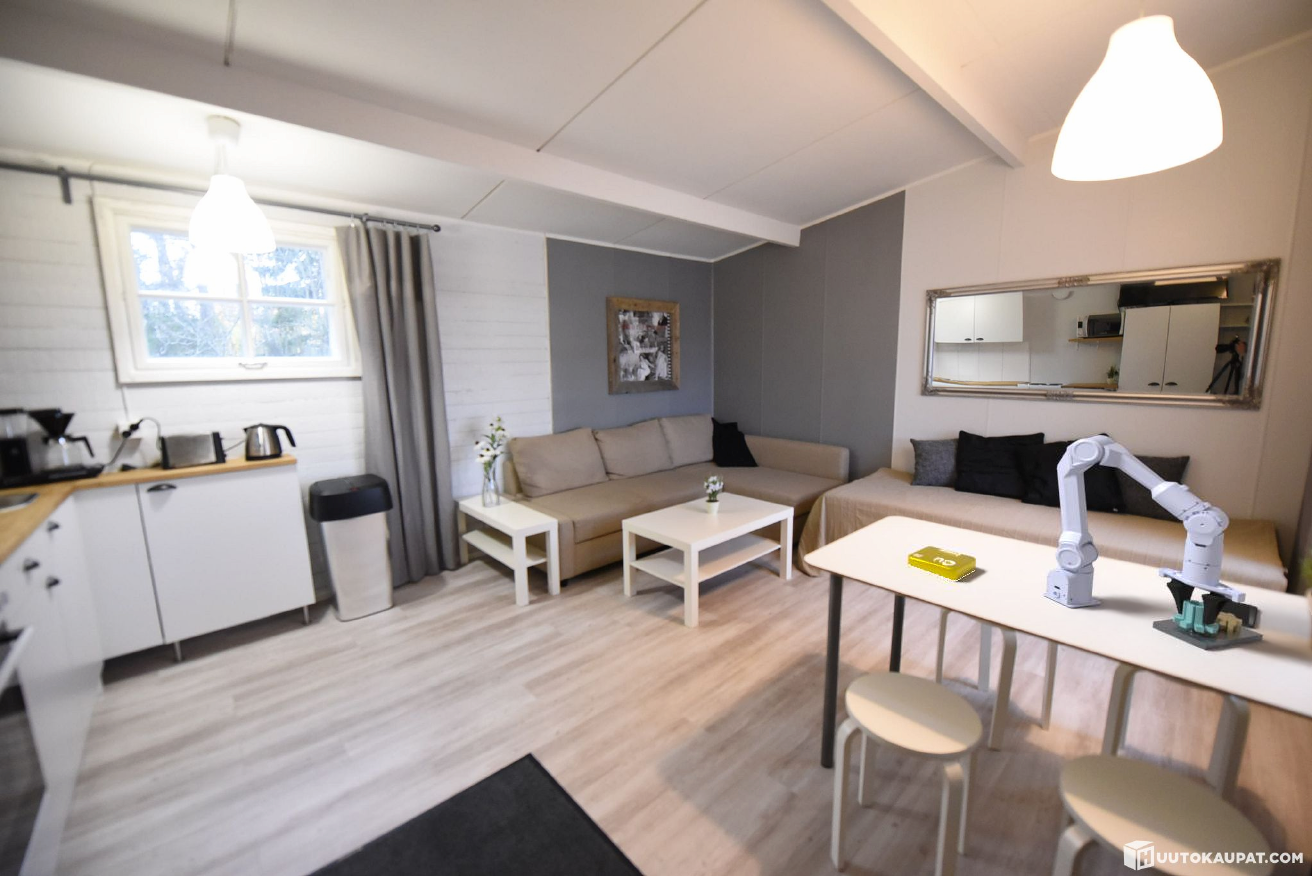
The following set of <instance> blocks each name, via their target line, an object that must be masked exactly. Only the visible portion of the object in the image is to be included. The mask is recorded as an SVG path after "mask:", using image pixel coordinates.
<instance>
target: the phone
mask: <svg viewBox="0 0 1312 876" xmlns="http://www.w3.org/2000/svg"><path fill="white" fill-rule="evenodd" d="M1258 609H1259V607H1257V606H1256V605H1252V604H1248V603H1244V602H1239V603H1237V602H1234V601H1231V602H1230V603H1228V604H1227V605H1226V606H1225V607H1224V608H1223V609H1222V611H1221V612H1224V613H1230V614H1233V615H1234V616H1235V617H1236V618H1237V619H1241V620H1242V625H1241V627H1244V628H1246V629H1250V630H1252V629H1253V630H1254V629H1255V628H1256V621H1257V615H1258Z"/></svg>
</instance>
